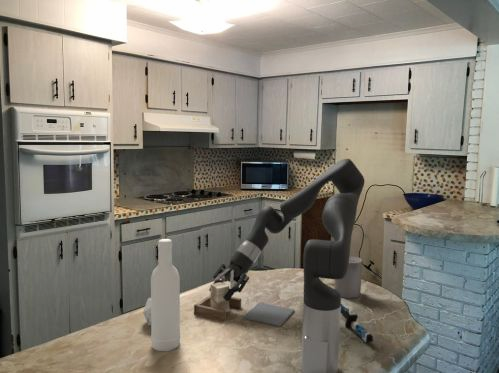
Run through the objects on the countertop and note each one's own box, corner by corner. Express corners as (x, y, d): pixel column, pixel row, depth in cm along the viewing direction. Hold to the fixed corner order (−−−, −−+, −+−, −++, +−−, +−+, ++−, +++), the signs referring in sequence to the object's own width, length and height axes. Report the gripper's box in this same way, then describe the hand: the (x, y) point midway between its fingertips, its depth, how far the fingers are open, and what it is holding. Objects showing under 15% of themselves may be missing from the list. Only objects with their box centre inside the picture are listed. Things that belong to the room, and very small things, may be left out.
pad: (280, 326, 129) (280, 324, 129) (242, 318, 135) (242, 316, 135) (294, 311, 141) (294, 309, 141) (259, 304, 146) (259, 302, 146)
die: (137, 323, 131) (137, 307, 124) (153, 302, 137) (153, 286, 131) (159, 335, 129) (160, 320, 123) (174, 314, 135) (176, 298, 129)
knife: (373, 350, 118) (375, 335, 117) (363, 350, 118) (364, 336, 117) (332, 297, 148) (333, 286, 147) (324, 298, 147) (325, 286, 146)
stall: (223, 320, 132) (223, 311, 132) (194, 314, 137) (194, 305, 137) (241, 307, 144) (241, 298, 143) (213, 301, 148) (213, 293, 148)
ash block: (228, 311, 140) (229, 285, 139) (217, 314, 137) (218, 288, 136) (221, 307, 143) (221, 281, 142) (210, 310, 141) (210, 284, 139)
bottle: (157, 354, 111) (156, 245, 108) (147, 342, 118) (145, 239, 114) (184, 346, 116) (184, 241, 112) (173, 335, 122) (173, 235, 119)
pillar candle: (337, 287, 164) (339, 250, 162) (362, 292, 160) (364, 254, 158) (331, 295, 155) (332, 256, 154) (357, 300, 151) (359, 260, 149)
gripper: (264, 267, 141) (236, 308, 136) (239, 258, 152) (213, 295, 147) (252, 255, 137) (223, 296, 132) (227, 246, 149) (200, 283, 143)
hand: (217, 295), depth 139 cm, fingers open, 8 cm apart
